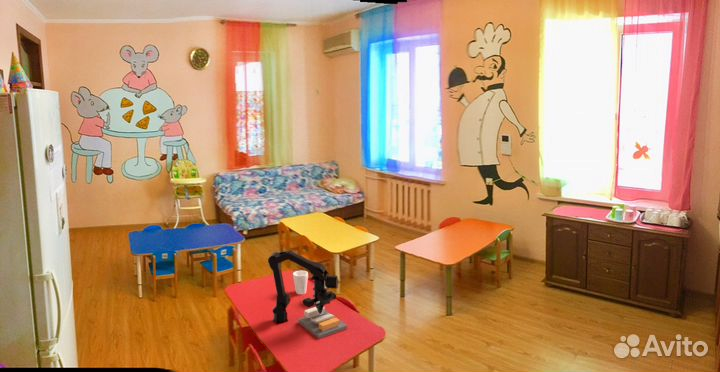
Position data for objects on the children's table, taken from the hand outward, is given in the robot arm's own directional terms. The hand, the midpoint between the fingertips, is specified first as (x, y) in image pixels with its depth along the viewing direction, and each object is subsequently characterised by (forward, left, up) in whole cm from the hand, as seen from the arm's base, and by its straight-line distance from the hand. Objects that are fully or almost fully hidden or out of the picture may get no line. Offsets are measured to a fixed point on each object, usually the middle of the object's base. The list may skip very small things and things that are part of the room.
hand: (320, 313), depth 272 cm
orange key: (0, -10, -4) cm, 10 cm away
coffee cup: (+17, +24, -7) cm, 30 cm away
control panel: (0, -3, -6) cm, 7 cm away
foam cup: (+12, +42, -7) cm, 45 cm away
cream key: (0, +5, -3) cm, 6 cm away
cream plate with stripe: (0, -3, -2) cm, 3 cm away
